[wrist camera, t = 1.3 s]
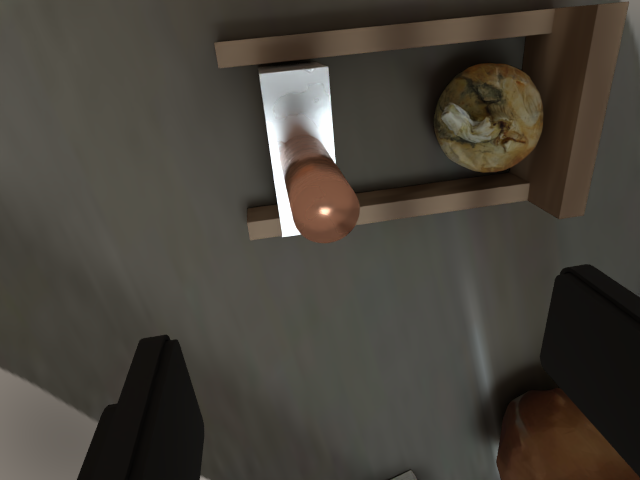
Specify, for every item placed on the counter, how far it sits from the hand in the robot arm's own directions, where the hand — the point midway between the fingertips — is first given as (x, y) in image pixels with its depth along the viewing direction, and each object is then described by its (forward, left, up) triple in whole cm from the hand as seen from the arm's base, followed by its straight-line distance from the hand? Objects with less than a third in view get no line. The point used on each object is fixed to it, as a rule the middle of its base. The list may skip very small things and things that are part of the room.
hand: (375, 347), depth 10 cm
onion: (-14, 0, -25) cm, 29 cm away
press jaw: (0, 0, -24) cm, 24 cm away
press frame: (-8, 0, -25) cm, 26 cm away
